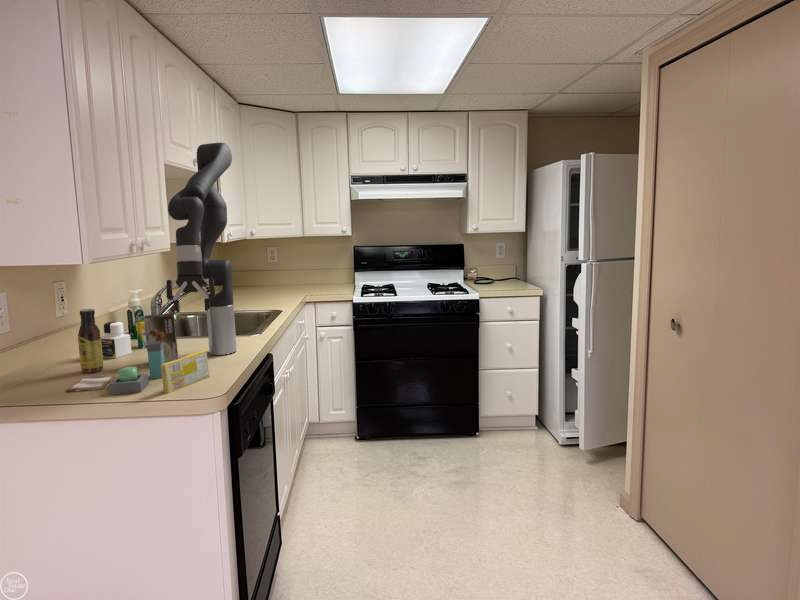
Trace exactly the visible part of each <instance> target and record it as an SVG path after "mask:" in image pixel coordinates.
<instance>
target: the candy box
mask: <svg viewBox="0 0 800 600" xmlns="http://www.w3.org/2000/svg"><path fill="white" fill-rule="evenodd" d="M207 352H208V351H207V350H200V351H197V352H194V353H191V354H188V355H185V356H182V357H178V359H176V360H173V361H170V362H167V363H164V364H161V372H162V378H161V379H162V388H163V393H164V394H170V393H172V392H175V391H177V390H179V389H180V390H181V389H183V388H185V387H188V386H189V385H192V384H196V383H197V382H200V381H203V380H206V379H207V377H208V378H210V371H209V370H210V369H209V362H208V353H207Z"/></svg>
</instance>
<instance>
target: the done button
mask: <svg viewBox="0 0 800 600" xmlns="http://www.w3.org/2000/svg"><path fill="white" fill-rule="evenodd" d="M138 374H139V373H138V368H137V367H136V366H127V367H126V366H125V367H122V368H119V369H118V376H119V380H120V382H127V381H137V380H138Z"/></svg>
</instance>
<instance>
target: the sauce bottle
mask: <svg viewBox="0 0 800 600" xmlns="http://www.w3.org/2000/svg"><path fill="white" fill-rule="evenodd" d="M95 313H96V311H95V309H94V308H84V309H80V310H79V316H80V327H79V330H78V333H77V342H78V343H77V344H78V351H79V352H78V354H79V360H80V361H79V362H80V369H81V372H82V373H84V374H93V373H98V372H101V371H103V370H104V357H103V354H102V343H101V337H102V336H101V330H100V328H99V326H97V324H96V319H95Z"/></svg>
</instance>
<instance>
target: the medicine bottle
mask: <svg viewBox="0 0 800 600" xmlns="http://www.w3.org/2000/svg"><path fill="white" fill-rule="evenodd" d="M124 332H125V330H124V323H123V322H122V321H109V322H105V323H104V324H103V333H104V334H103V335H104V336H100V337H101V343H102V354H103V358H104V359H105V358H106V359H107V358H109V359H118V358H122V357H125V356H129V355H131V354H132V352H133V351H132V344H131V335H130V334H128V333H124Z"/></svg>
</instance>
